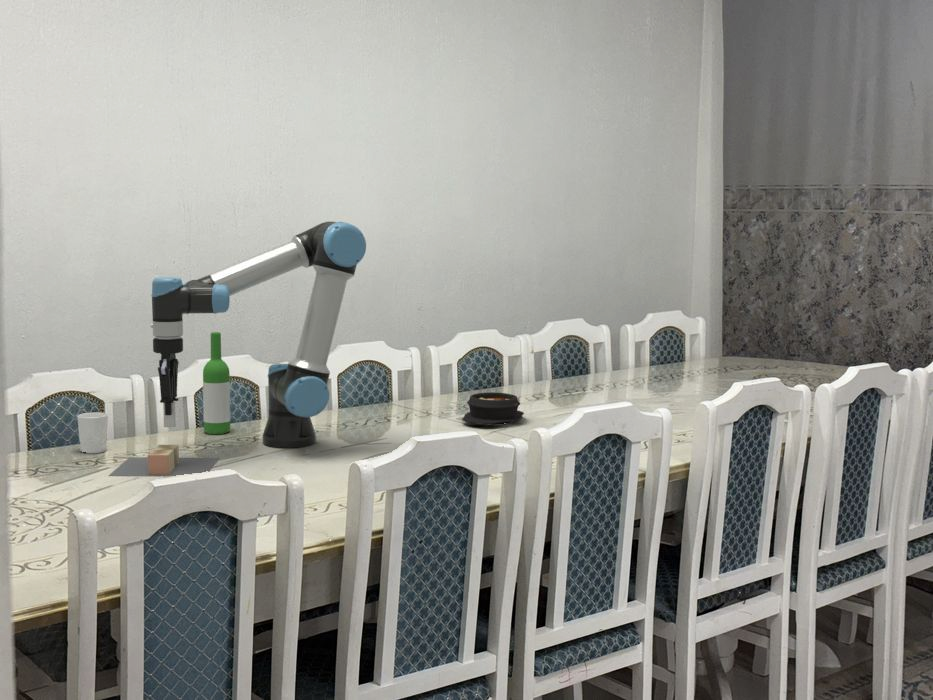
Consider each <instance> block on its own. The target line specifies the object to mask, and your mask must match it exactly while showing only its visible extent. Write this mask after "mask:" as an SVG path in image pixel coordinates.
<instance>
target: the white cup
mask: <svg viewBox="0 0 933 700" xmlns="http://www.w3.org/2000/svg"><path fill="white" fill-rule="evenodd" d="M108 421H109V415H108V413H107V412H85V413H80V414H77V427H78V440H79V445H80V446H79V447H80V452H81V451H82V452H81V453H83V452H86V453H85V454H99V453H104V452H106V451H107V449H108V448H107V447H108V446H107V445H108V442H107V441H108V430H109V429H108V427H109V424H108V423H109V422H108Z"/></svg>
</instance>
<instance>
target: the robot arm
mask: <svg viewBox="0 0 933 700" xmlns="http://www.w3.org/2000/svg"><path fill="white" fill-rule="evenodd" d="M366 250H367V241H366V238H365V236H364V234H363V233H362V231H361V230H360V229H359V227H357V226H355V225H354V224H351V223H349V222H345V221H344V222H343V221H324V222H322V223H319V224H317V225H314V226H313V227H311V228H309V229H307V230H305V231H302V232H301V233H299V234H296V235H293V236H292V238H291V240H290V241H288V242H287V243H283V244H280V245H278V246H276V247H273V248H272V249H269V250H266V251H263V252H262V253H259V254H257V255H254V256H252V257H249V258H246V259H244V260H242V261H239V262H237V263H234V264H231V265H230V266H227V267H225V268H222V269H220V270H218V271H214V272H213V273H210V274H208V275H205V276H203V277H200V278H197V279H190V280H187V281H186V282H185V283H183V281H182V280H183V279H182V278H181V277H174V276H171V277H170V276H169V277H168V276H164V277H163V276H160V277H156V278H154V279H153V280H152V281H151V282H152V283H151V285H152V286H151V295H150V296H151V310H152V313H151V315H152V323H151V324H150V328H152V336H154V337H153V339H152V351H153V352H154V353H155V354H160V359H159V360H158V361H159V362H158V367H157V371H158V376H159V387H160V388H159V389H160V400H159V403H161V404H162V405H163V408H162V409H163V428H175V427H176V425H177V424H176V422H177V421H176V402H178V401H179V398H177V396H178V374H179V373H178V371H179V370H178V369H179V363H180V362H179V359H178V358H177V357H176V355H177V354H180V353H182V352H183V351H184V338H183V337H182V336H183V335H184V323H183V316H184V315H188V314H214V315H216V314H222V313H223V314H224V313H227V311H228V310H229V309H230V303H231V301H230V299H231V298H230V296H233V295H235V294H238V293H241V292H243V291H246V290H247V289H250V288H252V287H255V286H257V285H260V284H262V283H264V282H267V281H269V280H272V279H274V278H276V277H279V276H281V275H284V274H286V273H288V272H291V271H293V270H295V269H298V268H301V267H303V268H306V269H307V268H309V267H313V269H314V270H315V271H314V272H315V273H316V274H315V278H314V283H313V285H312V286H313V287H312V289H311V294H310V296H309V297H310V298H309V301H308V304H307V305H308V306H307V309H306V314H305V317H304V318H305V319H304V322H303V326H302V330H301V334H300V338H299V339H300V340H299V343H298V347H297V350H296V354H295V358H293V359H292V360H290V361H289V362H288V363H274V364H271V365H270V366H269V367H268V370H267V371H268V373H267V378H268V379H267V380H268V385H267V386H268V393H267V394H268V416H267V421H266V424H265V427H264V430H263V433H262V445H265V446H268V447H272V448H273V447H274V448H282V449H283V448H286V449H287V448H289V449H290V448H291V449H292V448H301V447H307V446H311V445H314V444H315V443H316V442H317V434H316V431H315V429H314V425H313V421H312V419H311V418H313V417H316V416H317V415H319V414H321V413H322V412H323V411H324V410H325V409H326V407H327V405H328V403H329V400H330V389H329V386H328V382H329V378H330V374H331V372H330V370H329V368H328V365H327V363H328V359H329V355H330V351H331V347H332V343H333V339H334V334H335V332H336V331H335V330H336V327H337V322H338V319H339V315H340V311H341V307H342V304H343V303H342V302H343V299H344V295H345V290H346V286H347V283H348V280H350V279H351V278H353V277H354V276H355V273H356V269H357V266H358V264H359V263H360V262H361V261H362V260H363V259H364V257H365V254H366Z"/></svg>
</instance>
